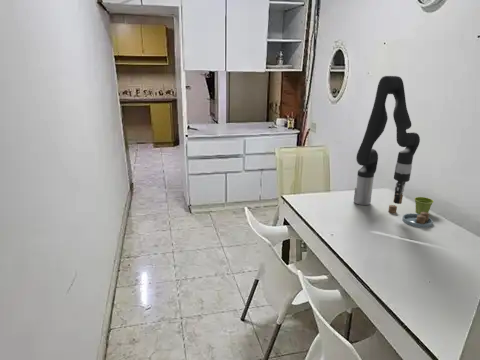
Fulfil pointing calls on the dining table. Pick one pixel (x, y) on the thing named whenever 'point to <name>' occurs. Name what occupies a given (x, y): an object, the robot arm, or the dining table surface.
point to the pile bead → (392, 209)
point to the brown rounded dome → (400, 198)
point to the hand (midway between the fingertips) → (397, 201)
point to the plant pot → (423, 204)
